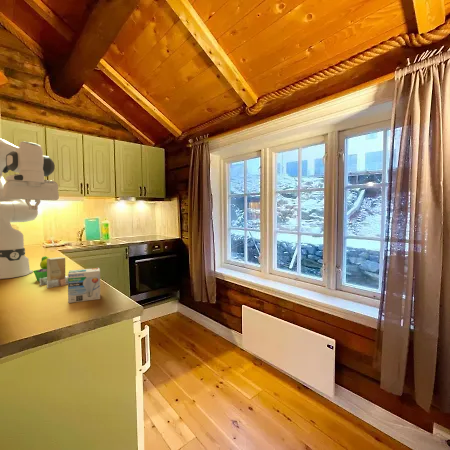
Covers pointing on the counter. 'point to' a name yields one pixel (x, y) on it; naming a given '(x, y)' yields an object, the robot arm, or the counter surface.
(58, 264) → the skincare box
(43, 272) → the fruit basket
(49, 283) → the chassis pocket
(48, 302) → the counter surface
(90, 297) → the light bulb box
